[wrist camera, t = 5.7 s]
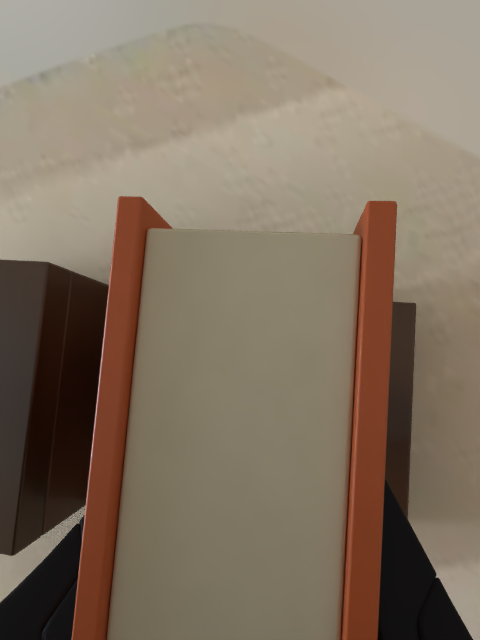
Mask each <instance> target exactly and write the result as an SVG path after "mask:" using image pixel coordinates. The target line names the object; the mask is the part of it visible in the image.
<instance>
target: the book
mask: <svg viewBox="0 0 480 640" xmlns="http://www.w3.org/2000/svg"><path fill="white" fill-rule="evenodd" d="M396 217H397V203H396V202H394V201H369V202H367V204H366V206H365V209H364V211H363V213H362V215H361V217H360V220H359V222H358V224H357V226H356V228H355V231H354V233H353V234H325V233H292V232H259V231H226V230H193V229H173V228H172V227H171V226H170V225H169V224H168V223H167V222H166V221H165V220H164V219H163V218H162V217H161V216H160V215H159V214H158V213H157V212H156V211H155V210H154V209H153V208H152V207H151V206H150V205H149V204H148V203H147V202H146V200H145V199H144V198H142V197H122V196H121V197H119V198H118V205H117V215H116V224H115V234H114V243H113V253H112V262H111V272H110V281H109V290H108V300H107V309H106V319H105V328H104V338H103V347H102V357H101V366H100V376H99V385H98V394H97V404H96V413H95V423H94V432H93V442H92V451H91V461H90V470H89V480H88V489H87V498H86V508H85V517H84V527H83V536H82V546H81V555H80V565H79V574H78V584H77V593H76V602H75V612H74V621H73V631H72V640H378V618H379V596H380V574H381V551H382V529H383V507H384V485H385V462H386V440H387V418H388V396H389V373H390V351H391V329H392V306H393V284H394V262H395V240H396Z"/></svg>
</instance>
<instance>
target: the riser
mask: <svg viewBox="0 0 480 640" xmlns="http://www.w3.org/2000/svg"><path fill="white" fill-rule="evenodd" d="M108 290H109V285H107V284H104V283H101V282H99V281H96V280H94V279H91V278H88V277H86V276H83V275H80V274H78V273H75V272H73V271H70V270H68V269H65V268H62V267H60V266H57V265H55V264H52V263H49V262H39V261H17V260H0V554H5V555H10V556H13V555H15V554H17V553H18V552H20V551H21V550H23V549H24V548H25V547H27V546H28V545H30V544H31V543H32V542H34V541H35V540H37V539H38V538H40V536H41V535H44V534H45V533H46V532H48V531H49V530H51V529H52V528H54V527H55V526H56V525H58V524H59V523H61V522H62V521H64V520H65V519H66V518H68V517H69V516H71V515H72V514H74V513H75V512H76V511H78V510H79V509H81V508H82V507H84V506H85V505H86V498H87V489H88V480H89V470H90V461H91V451H92V442H93V432H94V423H95V413H96V404H97V394H98V385H99V376H100V366H101V357H102V347H103V338H104V328H105V319H106V309H107V300H108ZM415 320H416V304H415V303H403V302H393V306H392V329H391V351H390V373H389V396H388V418H387V440H386V462H385V478H386V480H387V482H388V484H389V486H390V487H391V489H392V491H393V493H394V495H395V497H396V499H397V501H398V502H399V504H400V506H401V508H402V510H403V512H404V514H405V516H406V517H407V519H408V496H409V471H410V446H411V421H412V396H413V371H414V345H415Z"/></svg>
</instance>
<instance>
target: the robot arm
mask: <svg viewBox="0 0 480 640" xmlns="http://www.w3.org/2000/svg"><path fill="white" fill-rule="evenodd" d="M84 517H85V515H84V516H83V517H82V518H81V520H80V524H76V525H75V526H74V527H73V528H72V530H71V531H70V532H69V533H68V534H67V535H66V536H65V538H64V539H63V540H62V541H61V542H60V543H59V544H58V545H57V546H56V547H55V548H54V550H53V551H52V552H51V553H50V554H49V555H48V556H47V557H46V558H45V559H44V560H43V561H42V563H40V564H39V565H38V566H37V567H36V568H35V569H34V570H33V571H32V572H31V573H30V574H29V575H28V576H27V577H26V578H25V579H24V580H23V581H22V582H21V583H20V584H19V585H18V586H17V587H16V588H15V589H14V590H13V591H12V592H11V593H10V594H9V595H8V596H7V597H6V598H5V599H4V600H3V601H2V602H1V603H0V640H72V631H73V621H74V612H75V602H76V593H77V584H78V574H79V565H80V555H81V546H82V536H83V527H84ZM435 577H436V572H435V570H434V568H433V566H432V564H431V563H430V561H429V559H428V557H427V555H426V553H425V551H424V549H423V548H422V546H421V544H420V542H419V540H418V538H417V536H416V534H415V532H414V531H413V529H412V527H411V525H410V523H409V521H408V519H407V517H406V516H405V514H404V512H403V510H402V508H401V506H400V504H399V502H398V501H397V499H396V497H395V495H394V493H393V491H392V489H391V487H390V486H389V484H388V482H387V480H386V478H385V485H384V507H383V529H382V551H381V574H380V596H379V618H378V640H473V639H472V637H471V635H470V634H469V632H468V630H467V628H466V626H465V625H464V623H463V621H462V619H461V618H460V616H459V614H458V612H457V610H456V609H455V607H454V605H453V603H452V602H451V600H450V598H449V596H448V594H447V592H446V590H445V588H444V587H443V585H442V583H441V581H440V579H439V578H435Z"/></svg>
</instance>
